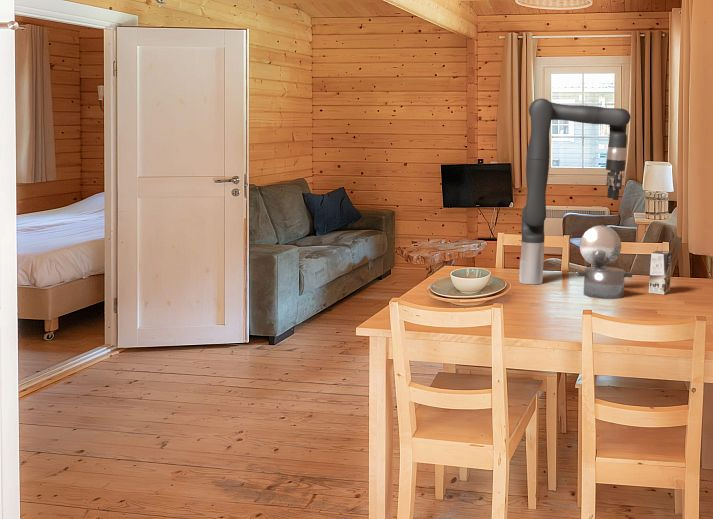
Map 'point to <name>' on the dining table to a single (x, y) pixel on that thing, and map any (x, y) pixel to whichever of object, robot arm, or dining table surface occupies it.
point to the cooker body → (603, 282)
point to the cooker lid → (600, 245)
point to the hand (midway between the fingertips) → (612, 198)
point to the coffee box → (660, 272)
